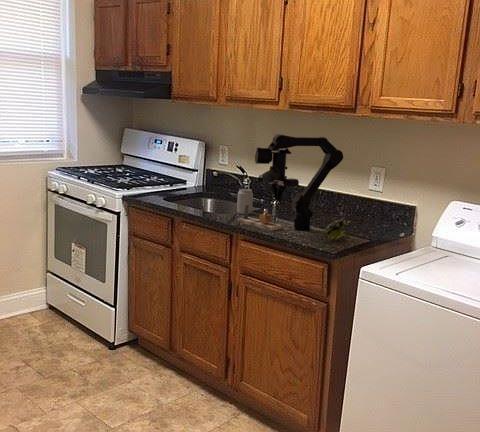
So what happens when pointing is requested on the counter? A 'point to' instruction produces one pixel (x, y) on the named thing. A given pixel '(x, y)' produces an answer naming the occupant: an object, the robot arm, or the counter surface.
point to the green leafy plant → (337, 228)
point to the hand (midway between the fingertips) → (276, 200)
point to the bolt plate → (257, 221)
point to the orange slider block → (265, 217)
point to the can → (244, 200)
